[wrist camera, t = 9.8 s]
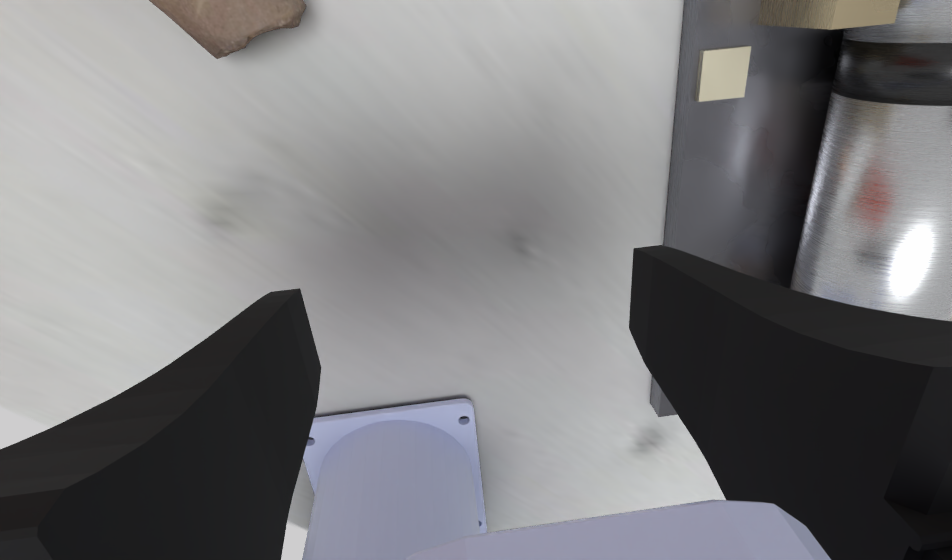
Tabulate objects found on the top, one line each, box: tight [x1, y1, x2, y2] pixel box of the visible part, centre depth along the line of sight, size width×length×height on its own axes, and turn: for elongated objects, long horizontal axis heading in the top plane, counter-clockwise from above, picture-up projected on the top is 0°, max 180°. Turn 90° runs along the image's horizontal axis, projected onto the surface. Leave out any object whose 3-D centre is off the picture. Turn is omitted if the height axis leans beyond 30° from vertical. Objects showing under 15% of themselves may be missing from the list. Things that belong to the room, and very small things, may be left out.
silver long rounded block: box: [790, 0, 952, 321], centre depth 18 cm, size 20×5×6 cm, turn 5°
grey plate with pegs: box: [650, 0, 900, 417], centre depth 19 cm, size 22×14×4 cm, turn 5°
